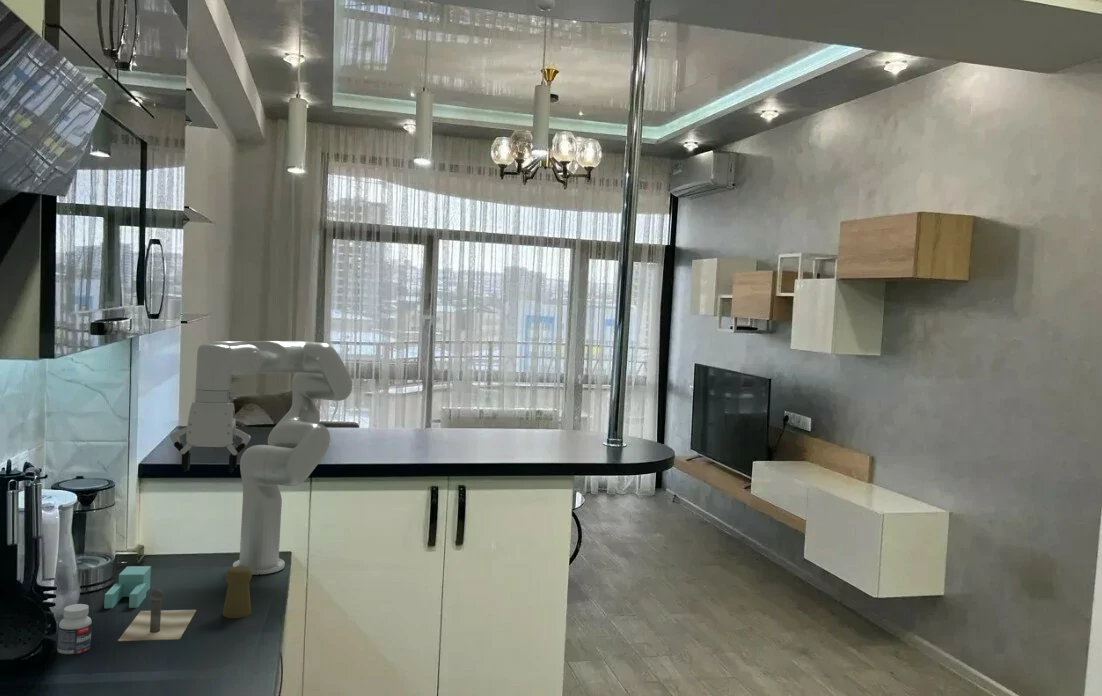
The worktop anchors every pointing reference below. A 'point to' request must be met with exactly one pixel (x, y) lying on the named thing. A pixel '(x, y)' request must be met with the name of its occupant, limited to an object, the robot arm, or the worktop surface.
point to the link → (130, 586)
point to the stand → (158, 622)
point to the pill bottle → (74, 630)
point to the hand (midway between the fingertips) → (209, 470)
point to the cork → (237, 592)
